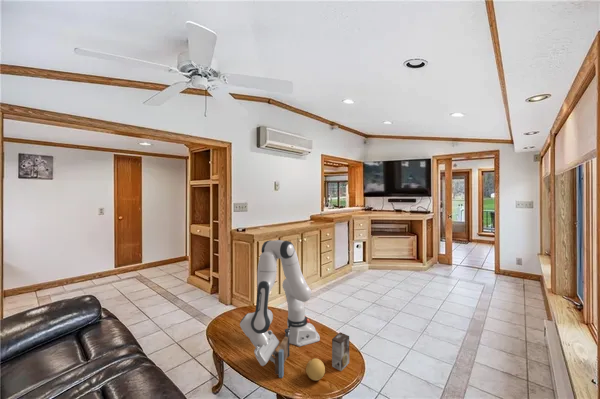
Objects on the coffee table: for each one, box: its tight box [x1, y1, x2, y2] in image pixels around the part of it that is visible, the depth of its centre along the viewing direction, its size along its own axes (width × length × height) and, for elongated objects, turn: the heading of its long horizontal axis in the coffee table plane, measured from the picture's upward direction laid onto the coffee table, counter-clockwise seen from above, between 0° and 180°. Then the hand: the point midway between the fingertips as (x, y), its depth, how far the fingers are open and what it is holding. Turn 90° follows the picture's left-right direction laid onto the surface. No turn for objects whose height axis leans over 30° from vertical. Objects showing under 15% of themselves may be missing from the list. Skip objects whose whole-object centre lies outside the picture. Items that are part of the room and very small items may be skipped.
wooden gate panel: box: [274, 336, 289, 376], centre depth 153 cm, size 17×2×11 cm, turn 164°
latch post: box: [278, 349, 285, 379], centre depth 145 cm, size 2×2×14 cm
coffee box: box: [331, 332, 350, 372], centre depth 154 cm, size 9×6×16 cm
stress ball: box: [305, 357, 326, 381], centre depth 143 cm, size 10×10×10 cm
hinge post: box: [284, 327, 290, 358], centre depth 163 cm, size 3×3×16 cm
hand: (277, 361), depth 150 cm, fingers closed on wooden gate panel
